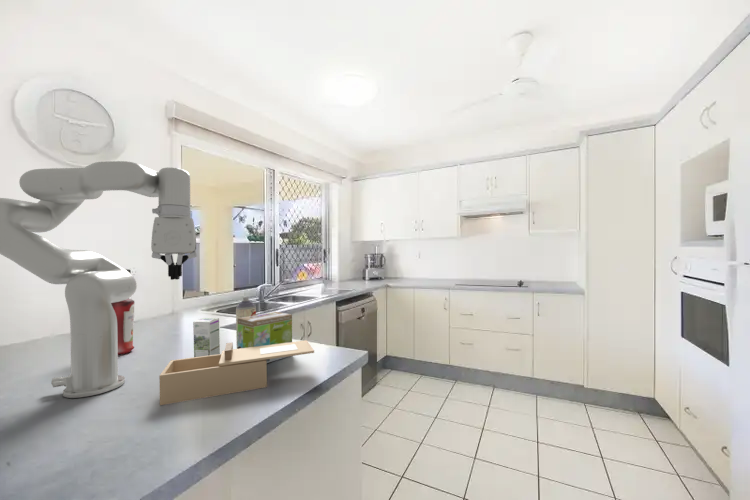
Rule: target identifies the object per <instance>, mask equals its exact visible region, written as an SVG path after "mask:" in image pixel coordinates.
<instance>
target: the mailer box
mask: <svg viewBox="0 0 750 500" xmlns="http://www.w3.org/2000/svg"><path fill="white" fill-rule="evenodd" d="M221 354H222V353H220V354H217V355H209V356H201V357H194V356H193V357H187V358H186V357H185V358H178V359H172V360H171V359H170V361H169V362H168V364H167V365H166V366H165V368H164V369H163V370H162V372H161V373H160V374H159V406H163V405H169V404H177V403H181V402H187V401H194V400H198V399H204V398H212V397H215V396H217V397H218V396H223V395H228V394H235V393H241V392H245V391H252V390H257V389H264V388H267V387H268V373H267V371H268V370H267V368H268V367H267V366H268V365H267V364H268V363H267V362H266V360H259V361H252V362H244V363H237V364H230V365H223V366H219V361H220V358H221Z"/></svg>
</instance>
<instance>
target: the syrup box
mask: <svg viewBox="0 0 750 500" xmlns="http://www.w3.org/2000/svg"><path fill="white" fill-rule="evenodd" d="M192 325H193V326H192V327H193V333H192V334H193V357H201V356H209V355H217V354H221V351H220V347H221V346H220V345H221V344H220V341H221V340H220V338H221V337H220V318H218V317H215V318H212V317H211V318H210V317H209V318H207V317H203V318H198V319H197V320H194V321H193V323H192Z"/></svg>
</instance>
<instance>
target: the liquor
mask: <svg viewBox="0 0 750 500" xmlns="http://www.w3.org/2000/svg"><path fill="white" fill-rule="evenodd" d="M111 304H112V307H113V309H114V311H115V313H116V317H117V339H118V356H119V355H120V354H121V355H125V354H129V353H131V352H132V351H133V350H134V349H135V346H134V323H135V322H134V320H135V300H133V299H132V298H128V299H126V300H123V301H120V302H115V303H111Z"/></svg>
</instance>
